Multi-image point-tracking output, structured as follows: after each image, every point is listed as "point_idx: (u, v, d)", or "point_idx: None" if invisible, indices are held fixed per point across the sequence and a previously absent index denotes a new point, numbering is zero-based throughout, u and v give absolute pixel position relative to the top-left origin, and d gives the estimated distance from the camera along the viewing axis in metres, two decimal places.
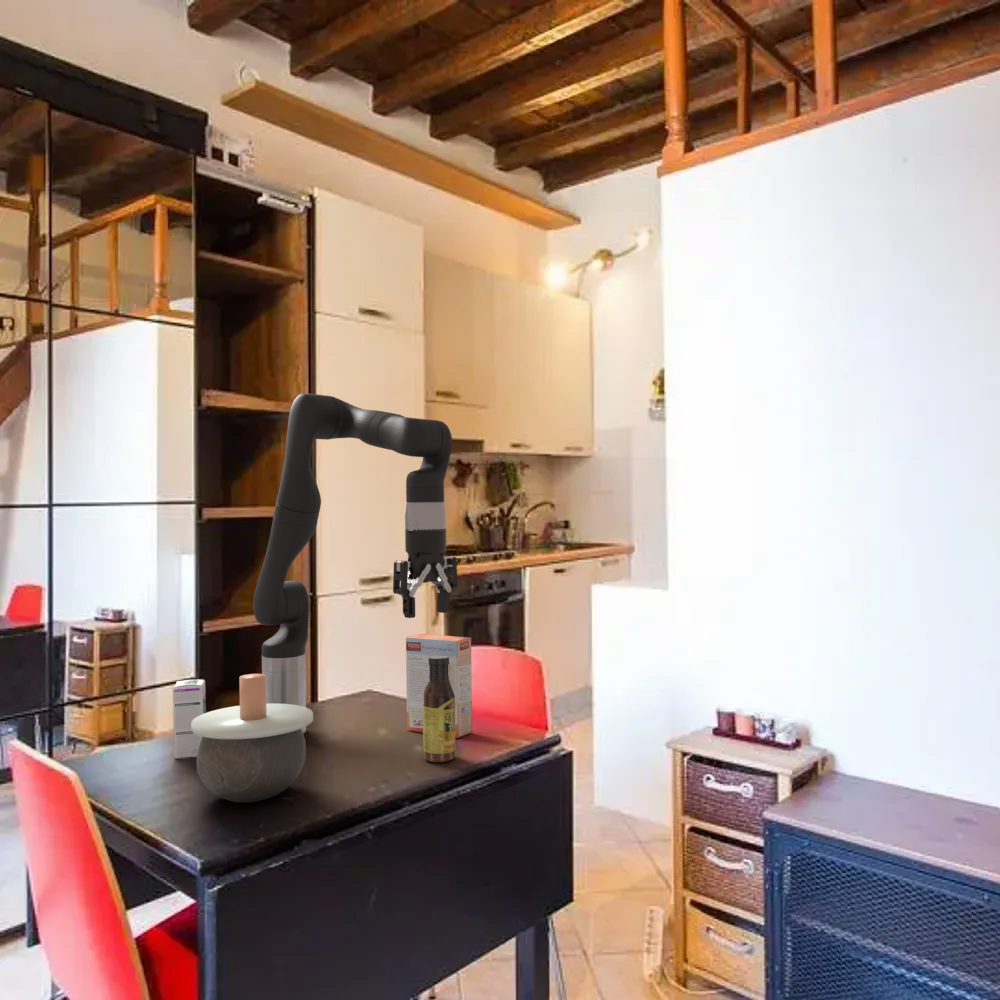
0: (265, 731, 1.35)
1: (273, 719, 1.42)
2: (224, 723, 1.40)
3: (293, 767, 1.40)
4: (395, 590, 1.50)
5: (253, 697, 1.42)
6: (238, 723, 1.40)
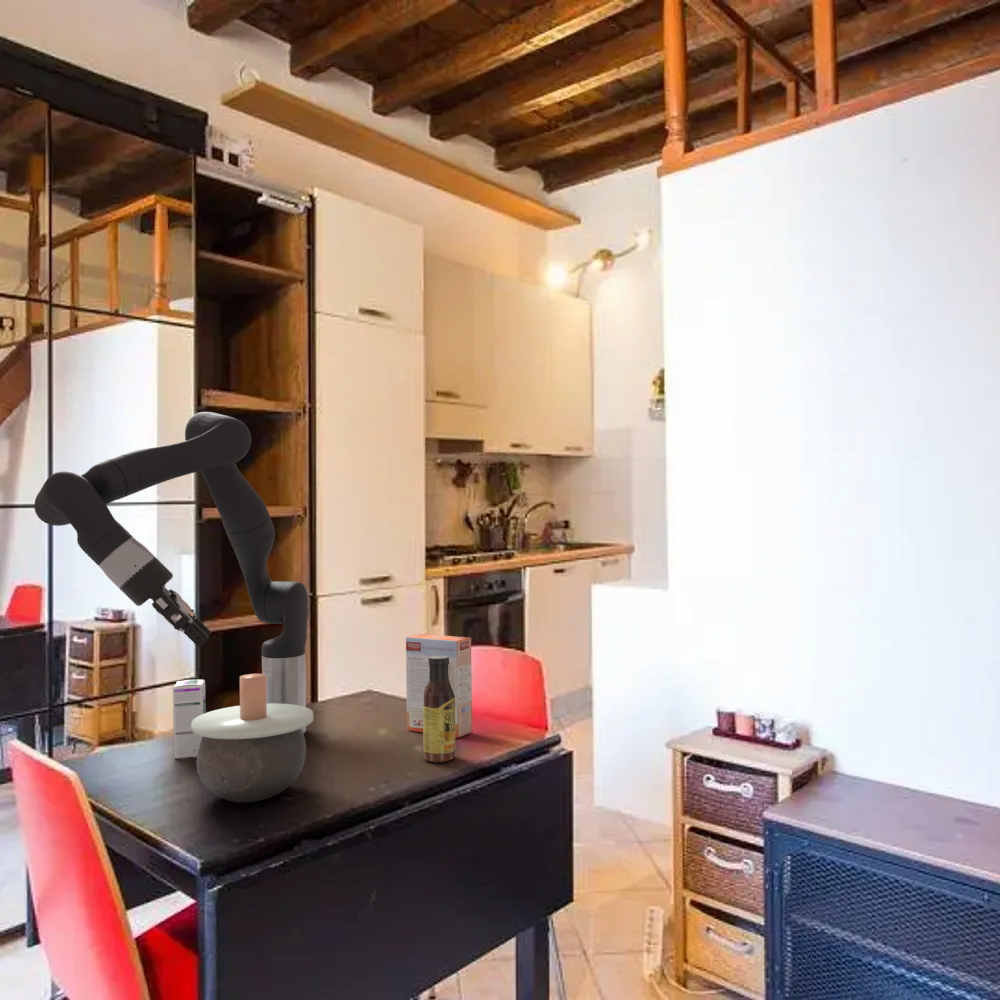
0: (265, 731, 1.35)
1: (273, 719, 1.42)
2: (224, 723, 1.40)
3: (293, 767, 1.40)
4: None
5: (254, 697, 1.42)
6: (238, 723, 1.40)
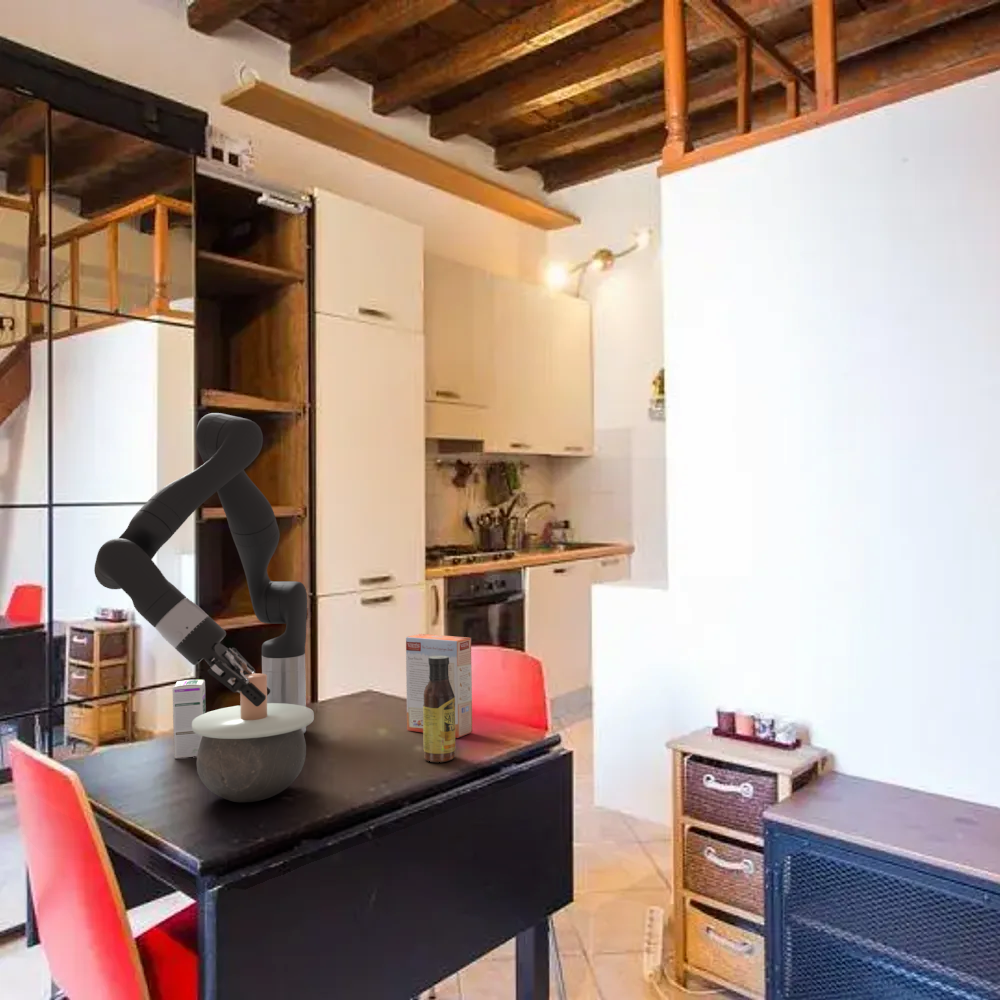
0: (267, 730, 1.35)
1: (274, 719, 1.42)
2: (225, 723, 1.40)
3: (293, 767, 1.40)
4: None
5: None
6: (239, 723, 1.40)
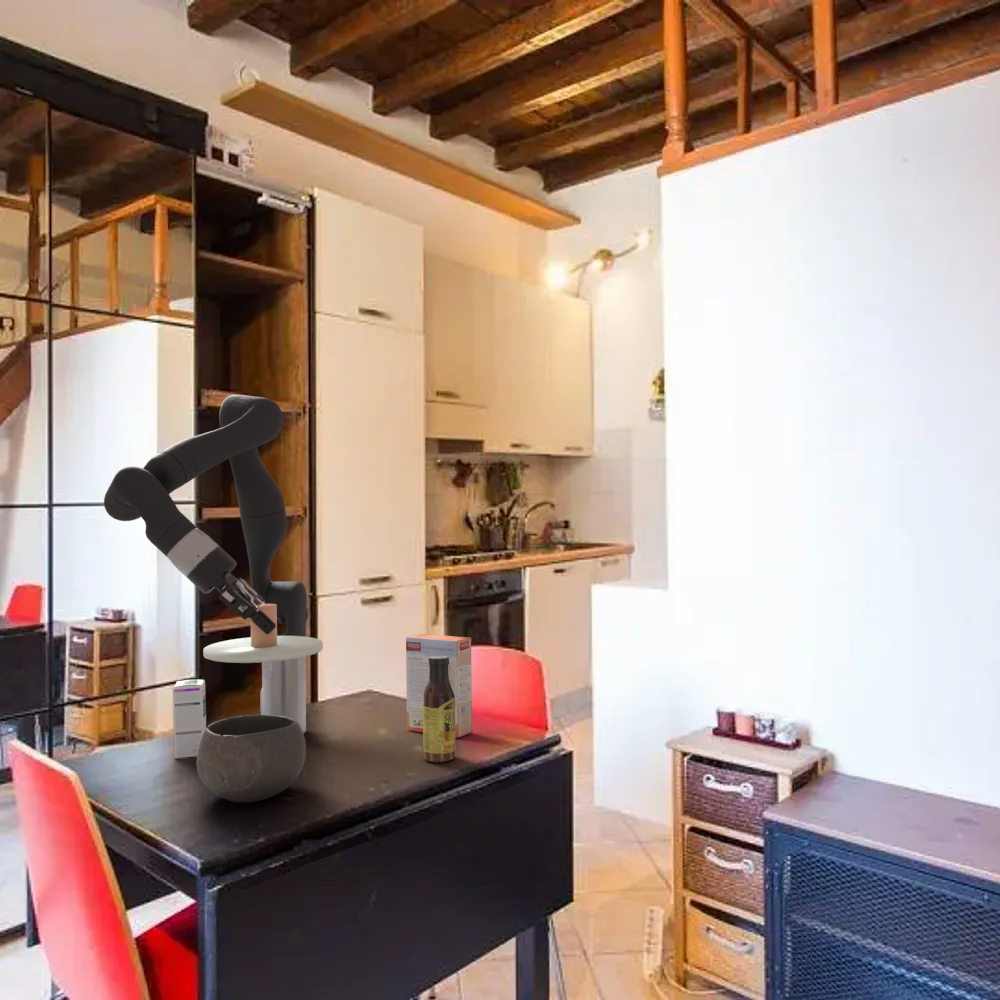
0: (277, 655, 1.37)
1: (284, 646, 1.44)
2: (236, 650, 1.42)
3: (293, 767, 1.40)
4: None
5: None
6: (250, 649, 1.42)
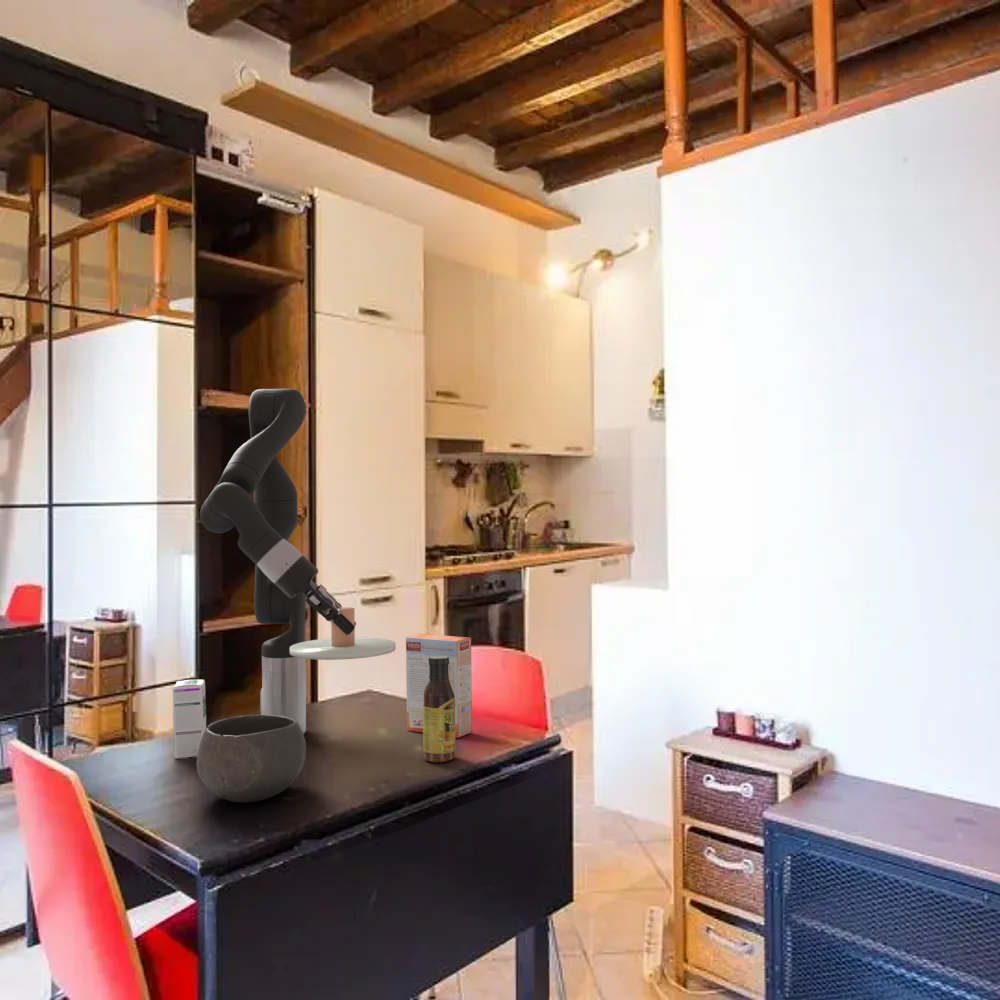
0: (360, 653, 1.52)
1: (362, 646, 1.59)
2: (320, 648, 1.57)
3: (293, 767, 1.40)
4: None
5: None
6: (332, 648, 1.57)
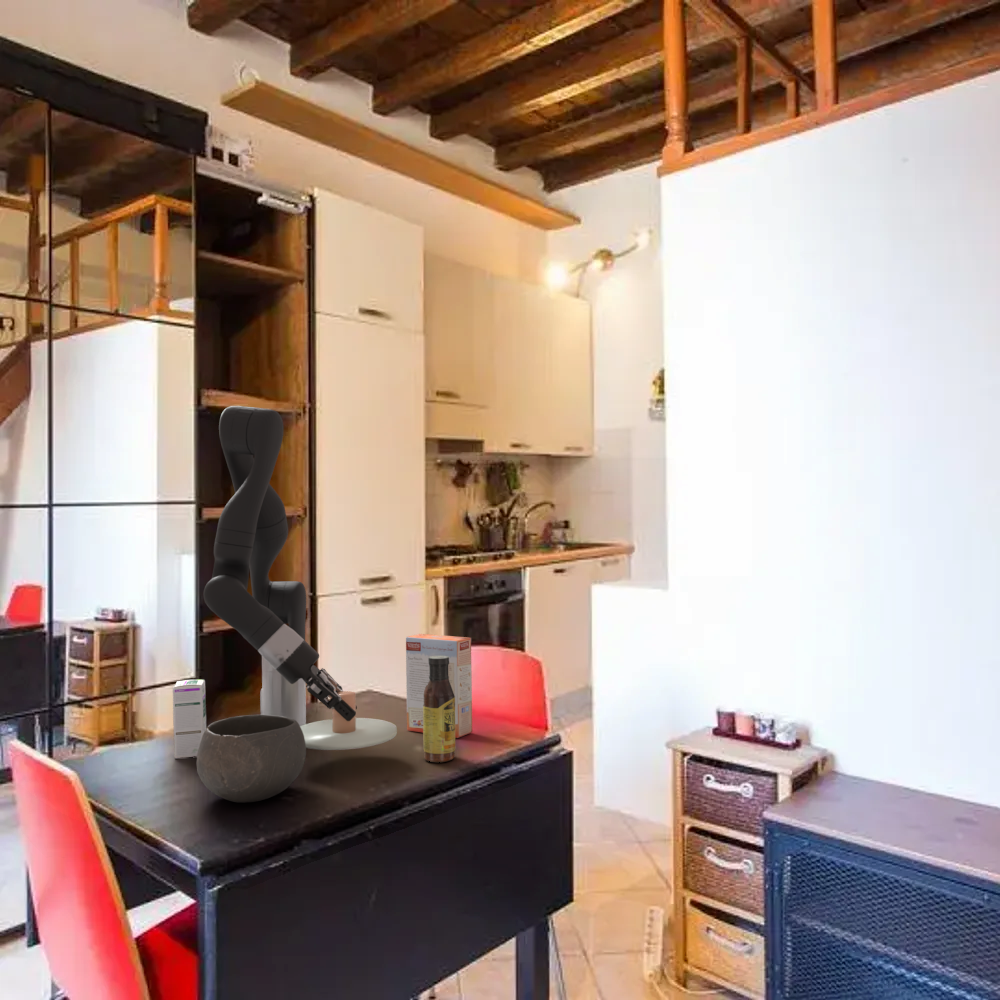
0: (361, 742, 1.52)
1: (363, 732, 1.59)
2: (321, 736, 1.57)
3: (293, 767, 1.40)
4: None
5: None
6: (333, 735, 1.57)
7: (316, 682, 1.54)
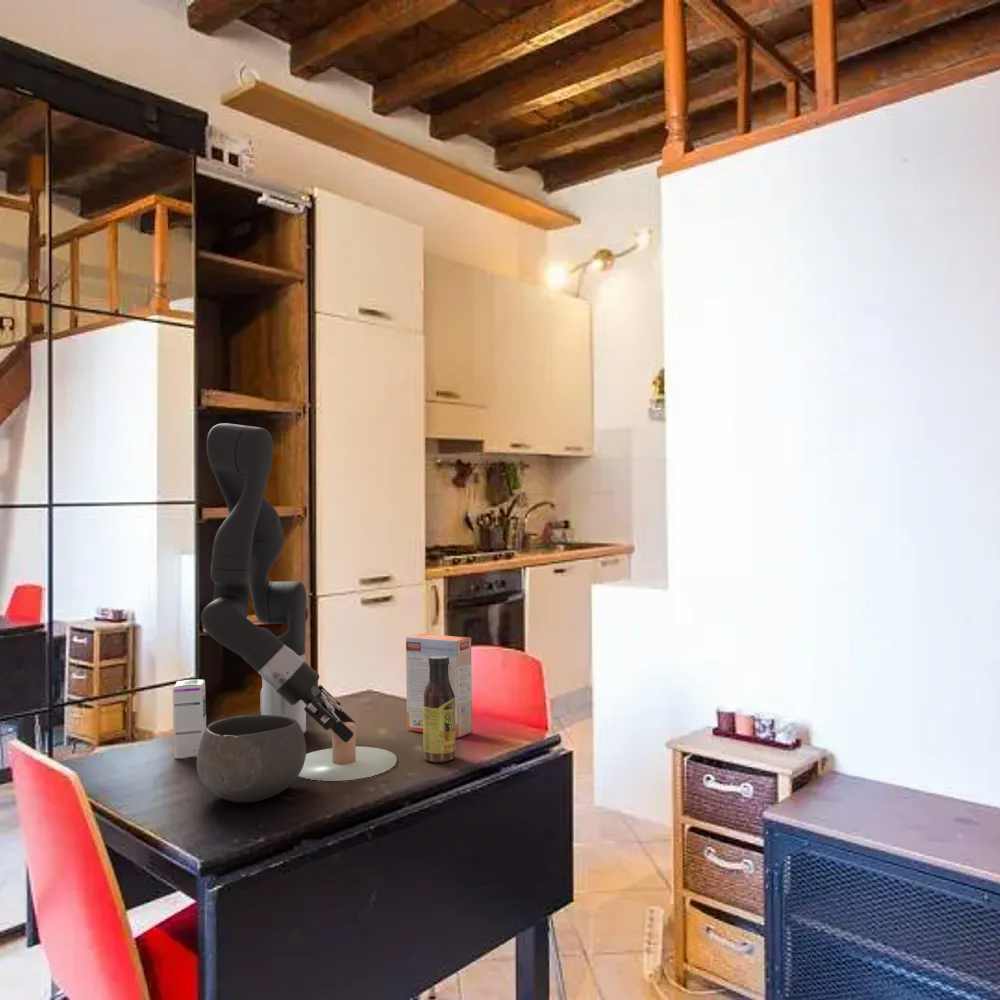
0: (361, 776, 1.52)
1: (363, 763, 1.59)
2: (321, 768, 1.57)
3: (293, 767, 1.40)
4: None
5: (346, 744, 1.59)
6: (333, 768, 1.57)
7: (312, 701, 1.54)
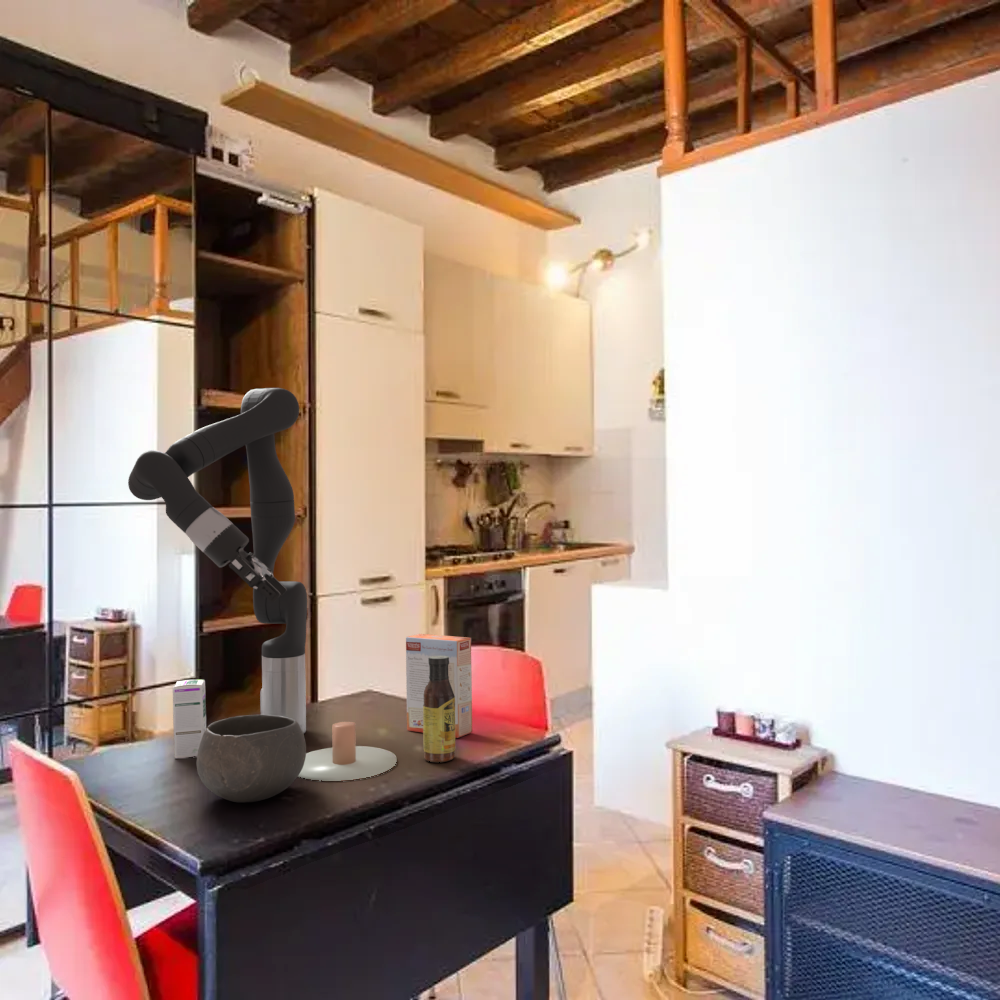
0: (361, 776, 1.52)
1: (363, 763, 1.59)
2: (321, 768, 1.57)
3: (293, 767, 1.40)
4: None
5: (346, 744, 1.59)
6: (333, 767, 1.57)
7: (237, 557, 1.52)
